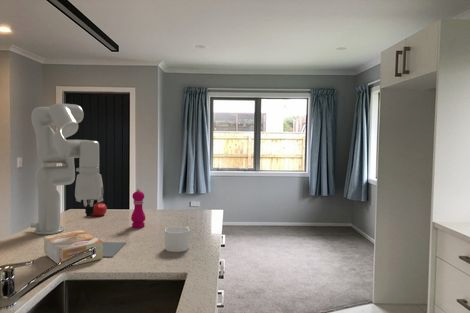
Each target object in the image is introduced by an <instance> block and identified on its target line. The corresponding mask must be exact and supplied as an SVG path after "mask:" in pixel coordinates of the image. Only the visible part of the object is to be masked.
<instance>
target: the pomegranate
mask: <svg viewBox="0 0 470 313" xmlns="http://www.w3.org/2000/svg"><path fill="white" fill-rule="evenodd" d="M107 210H108V207H107V205H106V204H105V203H103V202H102V201H101V202H97V203H96V204H95V205H94V214H93V215H92V216H91V217H102V216H104V215H105V214H106V213H107V212H108V211H107Z"/></svg>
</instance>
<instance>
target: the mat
mask: <svg viewBox="0 0 470 313" xmlns="http://www.w3.org/2000/svg"><path fill="white" fill-rule="evenodd" d="M126 244H127V242H118V241H117V242H114V241H113V242H112V241H111V242H110V241H109V242H108V241H107V242H106V241H105V242H103V258H114V256H116V254H118V253H119V252H120V250H122V248H124V246H125V245H126Z"/></svg>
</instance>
